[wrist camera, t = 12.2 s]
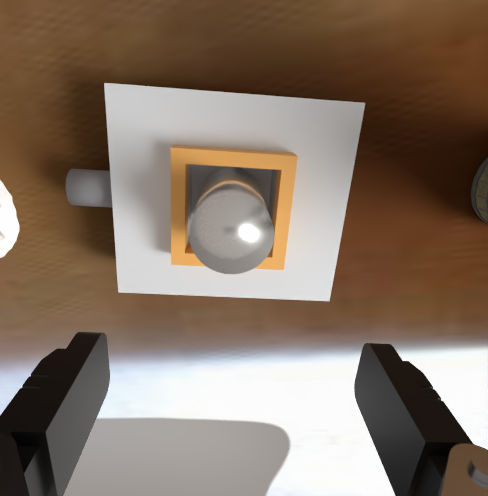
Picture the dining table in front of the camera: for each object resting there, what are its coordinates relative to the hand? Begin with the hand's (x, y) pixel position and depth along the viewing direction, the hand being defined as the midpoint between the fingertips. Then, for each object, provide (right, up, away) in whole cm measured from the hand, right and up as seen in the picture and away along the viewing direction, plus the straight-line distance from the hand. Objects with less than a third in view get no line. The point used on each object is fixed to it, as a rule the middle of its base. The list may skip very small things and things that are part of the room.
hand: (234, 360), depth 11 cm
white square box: (-3, +9, +22) cm, 24 cm away
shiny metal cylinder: (-1, +8, +19) cm, 21 cm away
